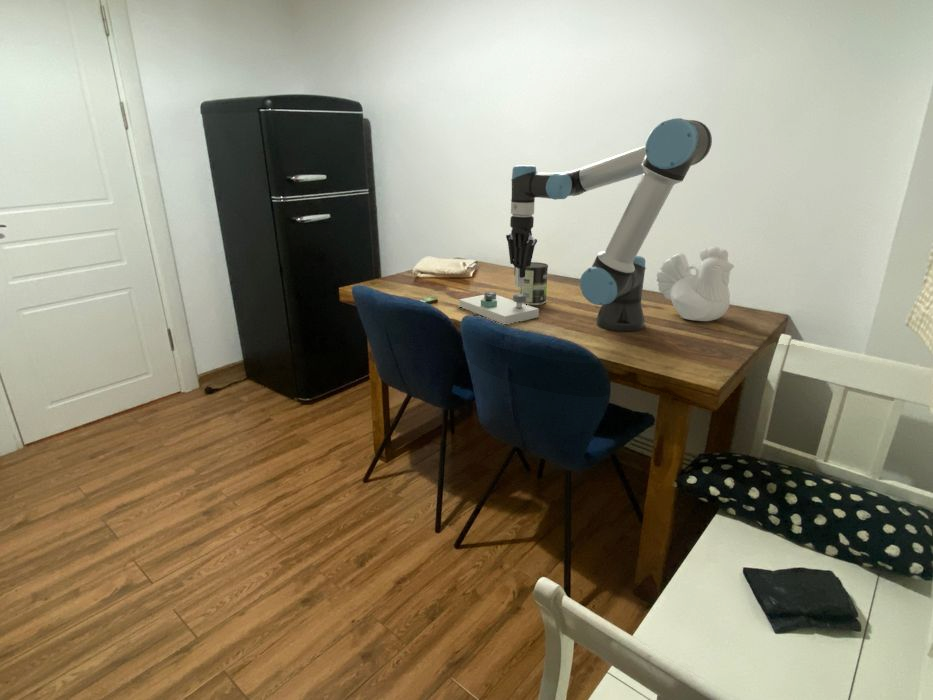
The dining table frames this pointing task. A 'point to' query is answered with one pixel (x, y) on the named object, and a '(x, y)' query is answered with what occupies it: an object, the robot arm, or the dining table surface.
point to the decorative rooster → (697, 284)
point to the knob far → (490, 294)
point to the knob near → (519, 300)
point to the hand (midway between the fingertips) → (519, 286)
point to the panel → (500, 309)
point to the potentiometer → (488, 302)
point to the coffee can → (535, 284)
